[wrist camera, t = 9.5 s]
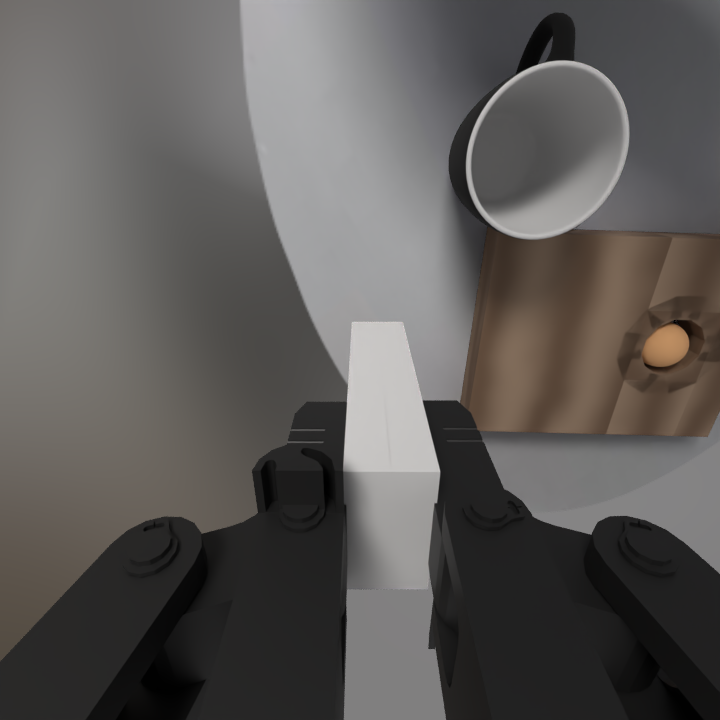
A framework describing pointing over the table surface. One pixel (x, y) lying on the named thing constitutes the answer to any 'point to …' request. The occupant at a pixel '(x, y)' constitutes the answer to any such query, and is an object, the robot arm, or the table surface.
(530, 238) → the mug
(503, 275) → the wooden board
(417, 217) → the table surface
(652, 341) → the ball
